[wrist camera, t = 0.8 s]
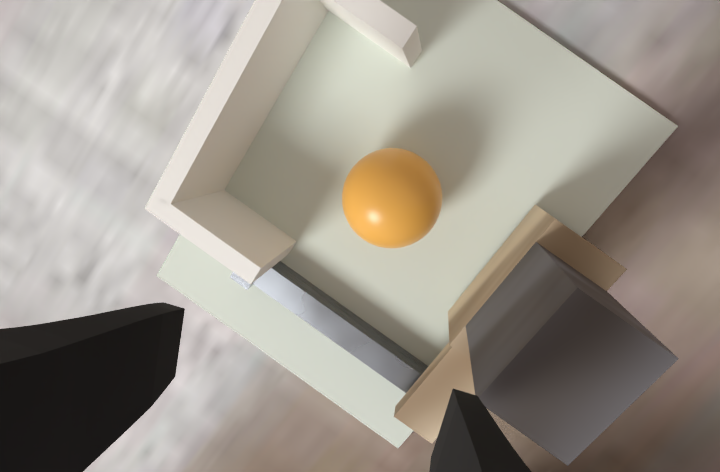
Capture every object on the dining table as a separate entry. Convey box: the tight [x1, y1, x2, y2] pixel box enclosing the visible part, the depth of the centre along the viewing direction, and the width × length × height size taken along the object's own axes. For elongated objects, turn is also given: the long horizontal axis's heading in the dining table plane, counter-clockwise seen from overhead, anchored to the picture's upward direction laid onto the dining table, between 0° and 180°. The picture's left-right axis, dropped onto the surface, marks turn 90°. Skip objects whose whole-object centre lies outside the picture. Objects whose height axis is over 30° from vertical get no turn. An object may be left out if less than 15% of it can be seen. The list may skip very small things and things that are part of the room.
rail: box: [230, 261, 428, 393], centre depth 21 cm, size 12×2×2 cm, turn 56°
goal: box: [144, 0, 422, 284], centre depth 18 cm, size 5×11×4 cm, turn 146°
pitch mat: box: [157, 0, 678, 448], centre depth 21 cm, size 15×19×1 cm
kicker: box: [394, 205, 678, 465], centre depth 16 cm, size 3×11×8 cm, turn 146°
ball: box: [342, 148, 442, 248], centre depth 18 cm, size 4×4×4 cm
